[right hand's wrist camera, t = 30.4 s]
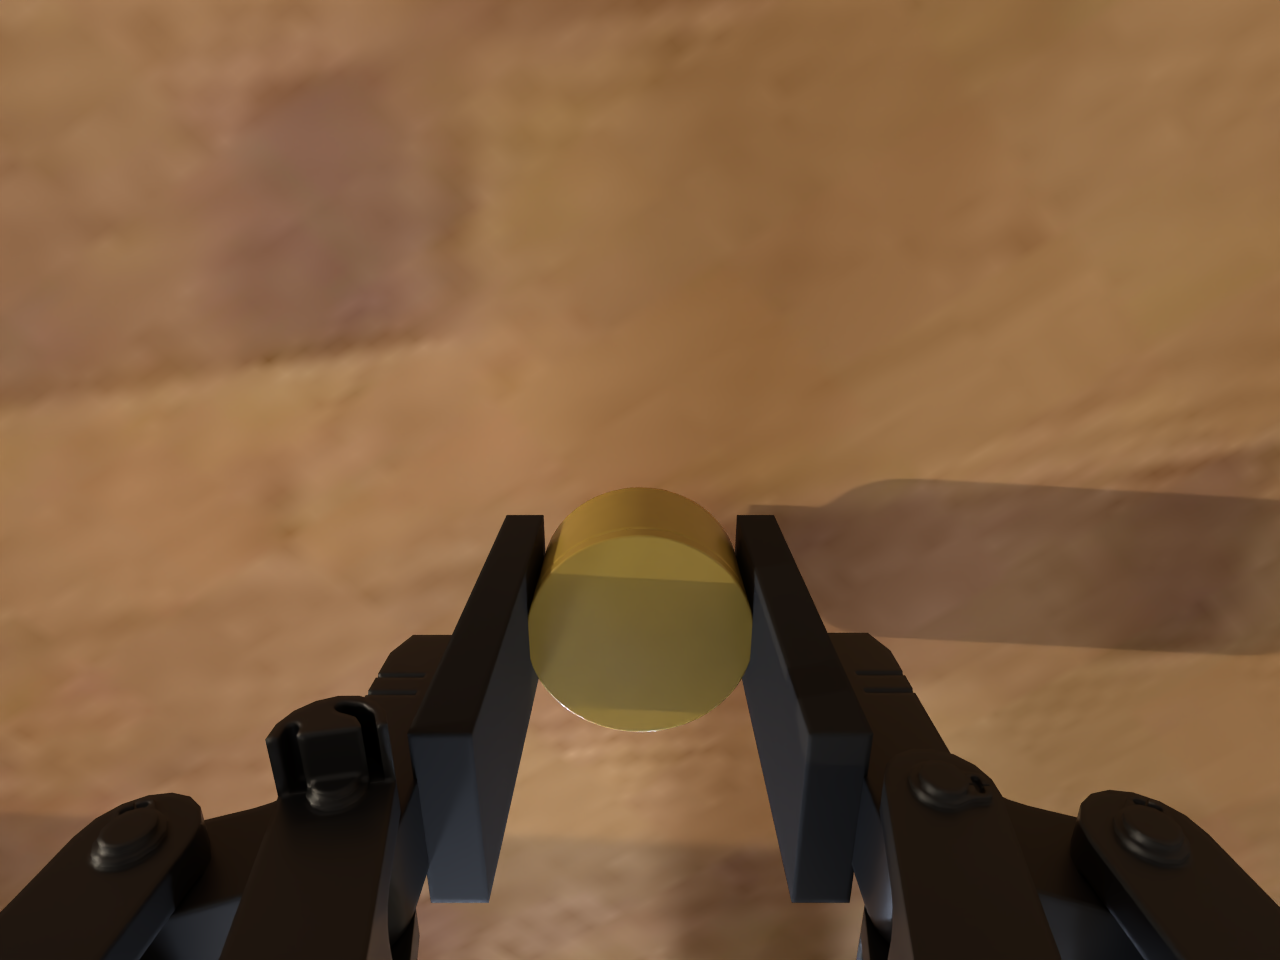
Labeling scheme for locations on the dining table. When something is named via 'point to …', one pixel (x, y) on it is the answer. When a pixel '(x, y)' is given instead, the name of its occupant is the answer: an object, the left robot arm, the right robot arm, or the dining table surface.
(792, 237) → the dining table surface
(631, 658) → the cap
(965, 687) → the dining table surface
